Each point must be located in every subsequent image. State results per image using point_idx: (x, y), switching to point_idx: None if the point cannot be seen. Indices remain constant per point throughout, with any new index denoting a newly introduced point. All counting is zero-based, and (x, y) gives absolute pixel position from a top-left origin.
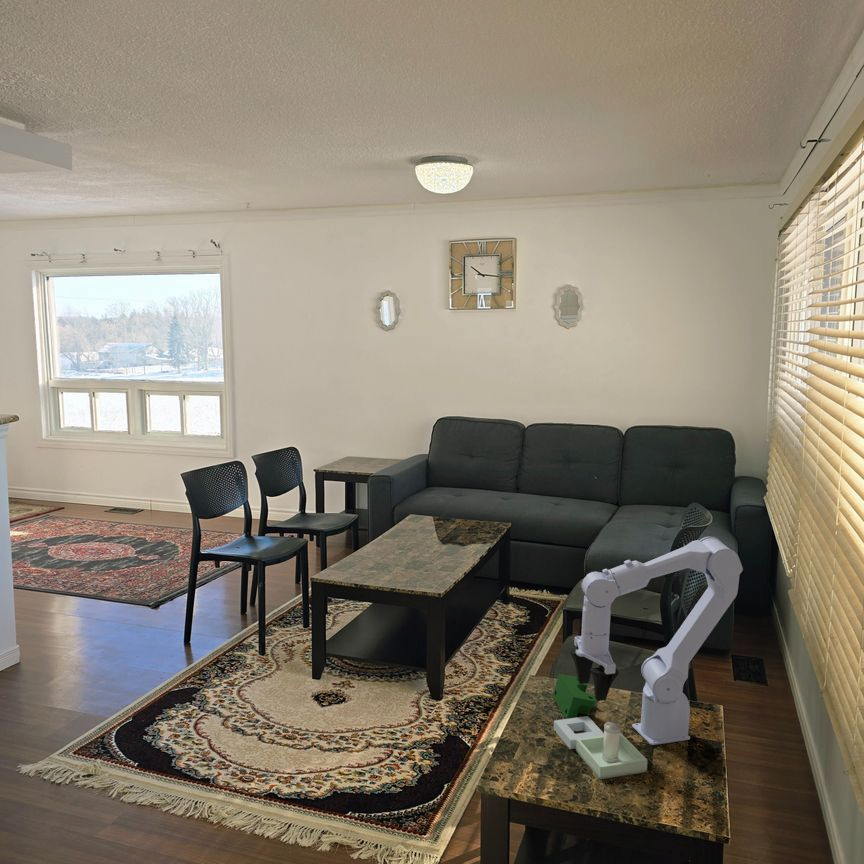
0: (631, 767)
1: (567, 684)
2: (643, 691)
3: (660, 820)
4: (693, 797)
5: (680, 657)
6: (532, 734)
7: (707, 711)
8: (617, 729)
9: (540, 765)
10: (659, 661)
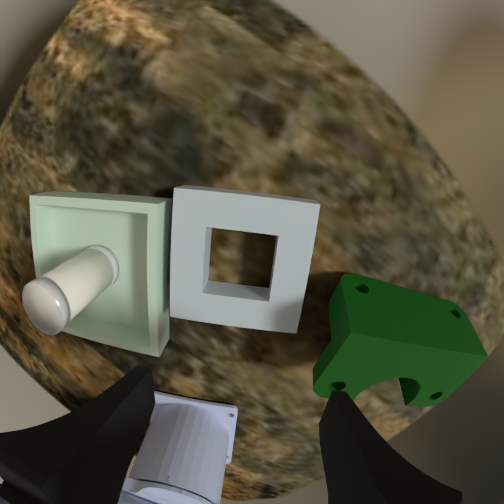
0: None
1: (433, 354)
2: (183, 495)
3: None
4: (7, 326)
5: None
6: (311, 113)
7: (239, 499)
8: (26, 309)
9: (143, 60)
10: None
